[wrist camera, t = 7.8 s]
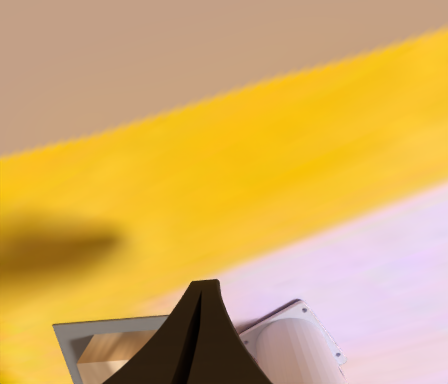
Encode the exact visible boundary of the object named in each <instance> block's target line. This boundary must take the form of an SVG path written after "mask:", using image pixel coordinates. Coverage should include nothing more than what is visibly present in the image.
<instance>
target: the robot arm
mask: <svg viewBox="0 0 448 384" xmlns="http://www.w3.org/2000/svg"><path fill="white" fill-rule="evenodd" d="M304 308H305V309H304ZM302 309H304V310H302ZM251 355H252V356H253V357H254V358H255V359H256V361H257V362H258V364H257V363H256V361H255V360H254V359H253V357H252V356H251ZM346 361H347V358H346V356H345V355H344V353H343V352H342V351H341V349H340V348H339V347H338V345H337V344H336V343H335V341H334V340H333V339H332V337H331V336H330V335H329V333H328V332H327V331H326V329H325V328H324V327H323V325H322V324H321V323H320V321H319V320H318V319H317V317H316V316H315V315H314V313H313V312H312V311H311V309H310V308H309V307H308V305H307V304H306V303H305V302H304V301H302V300H300V301H298V302H296V303H294V304H292V305H290V306H289V307H287V308H285V309H283V310H282V311H280V312H278V313H276V314H274V315H273V316H271V317H269V318H267V319H266V320H264V321H262V322H260V323H259V324H257V325H255V326H253V327H251V328H250V329H248V330H246V331H244V332H243V333H241V334H239V335H238V334H237V332H236V330H235V328H234V326H233V324H232V322H231V320H230V318H229V315H228V313H227V311H226V308H225V305H224V303H223V300H222V296H221V290H220V282H219V280H217V279H213V280H201V281H192V282H191V283H190V285H189V287H188V288H187V290H186V291H185V293H184V295H183V296H182V298H181V299H180V301H179V302H178V304H177V305H176V307H175V308H174V309H173V311H172V312H171V314H170V315H169V316H168V318H167V319H166V320H165V322H164V323H163V324H162V325H161V327H160V328H159V329H158V330H157V332H156V333H155V334H154V335H153V336H152V337H151V338H150V340H149V341H148V342H147V343H146V344H145V345H144V346H143V347H142V348H141V349H140V350H139V351H138V352H137V353H136V354H135V355H134V356H133V357H132V358H131V359H130V360H129V361H128V362H127V363H126V364H125V365H123V366H122V367H121V368H120V369H119V370H118V371H116V372H115V373H114V374H113V375H112V376H111V377H109V378H108V379H107V380H106V381H104V382H103V383H102V384H348V382H347V380H346V378H345V376H344V373H343V371H342V369H341V367H340V365H342V364H344V363H346Z"/></svg>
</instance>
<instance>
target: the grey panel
mask: <svg viewBox="0 0 448 384" xmlns="http://www.w3.org/2000/svg"><path fill="white" fill-rule="evenodd" d="M168 316H169V315H164V316H152V317H139V318H126V319H114V320H101V321H89V322H76V323H64V324H54V325H53V328H54V331H55V334H56V337H57V339H58V342H59V345H60V347H61V350H62V353H63V356H64V358H65V361H66V364H67V367H68V369H69V372H70V375H71V377H72V380H73V383H74V384H83V381H82V378H81V376H80V373H79V370H78V367H77V362H78V360H79V359H80V357H81V355H82V354H83V352H84V351H85V349H86V347H87V346H88V344H89V343H90V341H91V339H92V338H93V336H94V334H106V333H119V332H132V331H145V330H158V329H159V328H160V327H161V325H162V324H163V323H164V322H165V320H166V319H167V318H168Z"/></svg>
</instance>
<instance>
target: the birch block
mask: <svg viewBox="0 0 448 384" xmlns="http://www.w3.org/2000/svg"><path fill="white" fill-rule="evenodd" d="M156 332H157V330H145V331H132V332H119V333H106V334H94V336H93V338H92V339H91V341H90V343H89V344H88V346H87V347H86V349H85V351H84V352H83V354H82V355H81V357H80V359H79V360H78V362H77V367H78V370H79V373H80V376H81V378H82V381H83V384H102V383H103V382H104V381H106V380H107V379H108V378H109V377H111V376H112V375H113V374H114V373H115V372H116V371H118V370H119V369H120V368H121V367H122V366H123V365H125V364H126V363H127V362H128V361H129V360H130V359H131V358H132V357H133V356H134V355H135V354H136V353H137V352H138V351H139V350H140V349H141V348H142V347H143V346H144V345H145V344H146V343H147V342H148V341H149V340H150V338H151V337H152V336H153V335H154V334H155V333H156Z"/></svg>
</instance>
